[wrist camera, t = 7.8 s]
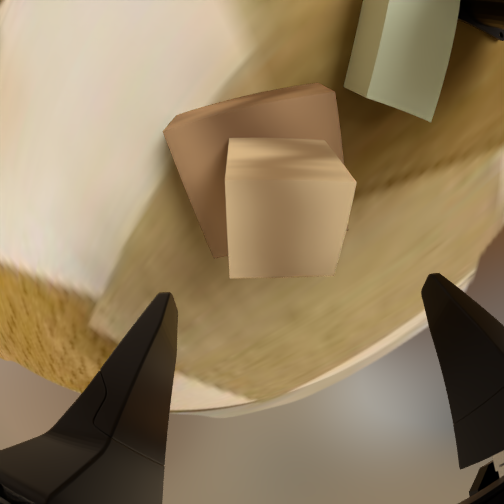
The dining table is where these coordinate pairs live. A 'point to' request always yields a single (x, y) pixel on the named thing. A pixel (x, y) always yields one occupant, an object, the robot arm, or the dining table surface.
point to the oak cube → (285, 207)
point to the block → (403, 53)
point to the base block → (243, 126)
